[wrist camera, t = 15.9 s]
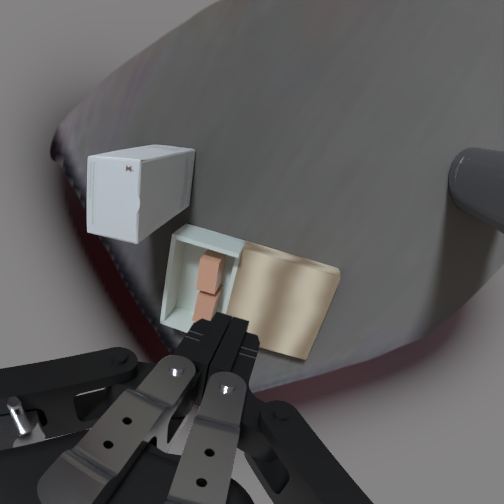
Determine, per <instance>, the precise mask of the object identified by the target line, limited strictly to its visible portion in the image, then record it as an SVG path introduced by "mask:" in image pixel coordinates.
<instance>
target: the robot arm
mask: <svg viewBox="0 0 504 504" xmlns="http://www.w3.org/2000/svg"><path fill="white" fill-rule="evenodd" d="M449 189H450V192H451V196H452V198H453V200H454V202H455V203H456V204H457V205H458V207H459V208H461V209H462V210H463V211H465V212H467V213H469V214H470V215H472V216H474V217H476V218H477V219H479V220H481V221H483V222H485V223H486V224H488V225H490V226H491V227H493V228H495V229H497V230H498V231H500V232H502V233H503V234H504V152H503V151H496V150H490V149H482V148H469V149H466V150H464V151H462V152H461V153H460V154H459V155H458V156H457V157H456V158H455V160H454V161H453V163H452V166H451V168H450V173H449ZM248 325H249V321H247V320H244V319H241V318H237V317H233V318H232V316H230V315H227V314H224V313H220V312H216V313H215V315H214V316H213V318H212V320H211V321H209V320H206V319H203V318H202V319H200V320H198V321H196V322H194V323H193V325H192V326H191V328H190V329H189V331H188V332H187V334H186V335H185V337H184V338H183V340H182V341H181V343H180V344H179V346H178V347H177V349H176V350H175V352H174V353H173V355H171V356H167V357H164V358H163V359H161V361H160V362H159V363H145V362H138V361H137V357H136V355H135V354H134V353H133V352H132V351H131V350H129V349H126V348H122V347H114V348H109V349H105V350H100V351H95V352H90V353H85V354H80V355H75V356H71V357H65V358H60V359H55V360H50V361H44V362H39V363H33V364H27V365H22V366H15V367H9V368H3V369H0V504H254V502H253V501H252V499H251V497H250V495H249V494H248V493H247V492H246V490H245V489H244V488H243V487H242V486H241V485H240V484H239V483H237V482H236V481H235V480H233V479H232V478H231V474H232V469H233V464H234V459H235V454H236V449H237V448H239V449H240V450H242V451H244V452H245V453H244V454H245V458H246V460H247V461H248V463H249V465H250V466H251V468H252V469H253V471H254V473H255V475H256V476H257V478H258V479H259V481H260V483H261V484H262V486H263V487H264V489H265V490H266V492H267V494H268V495H269V497H270V498H271V500H272V501H273V503H274V504H373V503H372V502H371V500H370V499H369V498H368V497H367V496H366V495H365V493H364V492H363V491H362V490H361V489H360V488H359V486H358V485H357V484H356V483H355V482H354V480H353V479H352V478H351V477H350V476H349V475H348V473H347V472H346V471H345V470H344V468H343V467H342V466H341V465H340V464H339V462H338V461H337V460H336V459H335V458H334V456H333V455H332V454H331V453H330V452H329V450H328V449H327V448H326V447H325V445H324V444H323V443H322V441H321V440H320V439H319V438H318V436H317V435H316V434H315V432H313V430H312V429H311V427H310V426H309V425H308V424H307V422H306V421H305V420H304V418H303V417H302V416H301V414H300V413H299V412H298V411H297V409H296V408H295V407H293V406H292V405H291V404H289V403H287V402H284V401H278V400H277V401H270V402H267V403H264V402H263V401H261V400H259V399H258V398H256V397H255V396H254V395H253V394H252V392H251V391H250V389H249V379H250V376H251V373H252V369H253V366H254V363H255V359H256V356H257V353H258V349H259V346H260V341H259V338H258V335H255V334H252V333H248V332H247V329H248ZM104 387H105V389H104V390H100V391H96V392H92V393H87V394H84V395H79V396H76V395H78V394H80V393H84V392H88V391H92V390H96V389H100V388H104ZM194 404H196V405H199V406H200V408H199V411H198V414H197V416H196V417H195V418H194V421H193V423H192V426H191V429H190V432H189V435H188V438H187V441H186V444H185V447H184V450H183V453H182V456H181V455H174V454H168V451H169V449H170V447H171V445H172V443H173V442H174V440H175V439H176V437H177V435H178V434H179V432H180V431H181V429H182V427H183V425H184V424H185V422H186V421H187V419H188V417H189V412H190V411H191V409H192V407H193V405H194ZM90 428H91V429H90ZM86 429H88V430H86ZM74 432H75V433H74ZM70 433H71V434H70ZM66 434H68V435H66ZM61 435H64V436H61ZM57 436H60V437H57ZM52 437H56V438H53V439H49V440H45V439H47V438H52ZM44 440H45V441H44Z"/></svg>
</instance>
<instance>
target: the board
mask: <svg viewBox="0 0 504 504" xmlns="http://www.w3.org/2000/svg"><path fill="white" fill-rule="evenodd" d="M340 278H341V276H340V272H339V268H336V267H332V266H329V265H326V264H322V263H319V262H316V261H312V260H309V259H306V258H302V257H299V256H295V255H292V254H289V253H285V252H282V251H279V250H275V249H272V248H269V247H265V246H262V245H258V244H255V243H252V242H248V241H247V242H246V243H245V245H244V247H243V249H242V253H241V256H240V260H239V264H238V268H237V272H236V276H235V280H234V284H233V288H232V292H231V296H230V300H229V304H228V308H227V312H226V314H227V315H230V316H232V318H233V317H237V318H241V319H244V320H247V321H249V325H248V329H247V332H248V333H252V334H255V335H258V338H259V341H260V346H259V347H261V348H264V349H268V350H271V351H275V352H278V353H282V354H285V355H289V356H293V357H296V358H300V359H304V360H306V358H307V356H308V354H309V352H310V350H311V347H312V345H313V343H314V341H315V338H316V336H317V334H318V332H319V329H320V327H321V325H322V322H323V320H324V318H325V315H326V313H327V310H328V308H329V306H330V303H331V301H332V298H333V296H334V293H335V291H336V288H337V286H338V283H339V281H340Z"/></svg>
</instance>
